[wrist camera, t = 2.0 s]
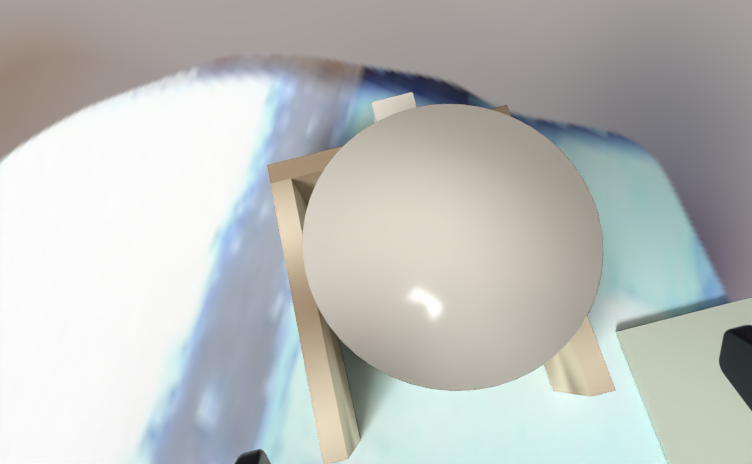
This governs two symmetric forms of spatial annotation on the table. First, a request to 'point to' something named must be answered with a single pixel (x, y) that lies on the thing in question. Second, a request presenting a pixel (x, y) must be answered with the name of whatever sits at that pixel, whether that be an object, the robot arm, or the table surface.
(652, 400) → the sage mat
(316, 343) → the frame
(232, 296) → the table surface
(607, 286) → the table surface
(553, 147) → the rounded top cylinder
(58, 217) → the table surface
